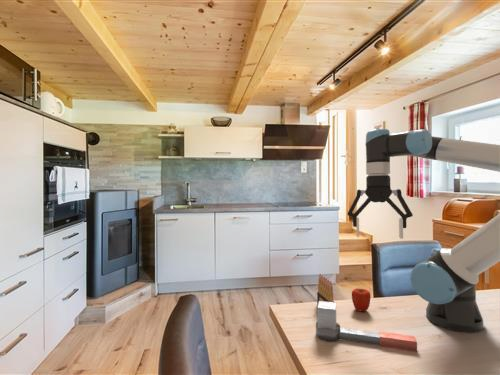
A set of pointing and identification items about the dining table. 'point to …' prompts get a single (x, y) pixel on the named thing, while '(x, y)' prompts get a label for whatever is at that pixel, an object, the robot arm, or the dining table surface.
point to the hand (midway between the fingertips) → (379, 237)
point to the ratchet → (368, 338)
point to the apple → (361, 299)
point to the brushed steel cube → (327, 315)
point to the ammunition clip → (324, 290)
